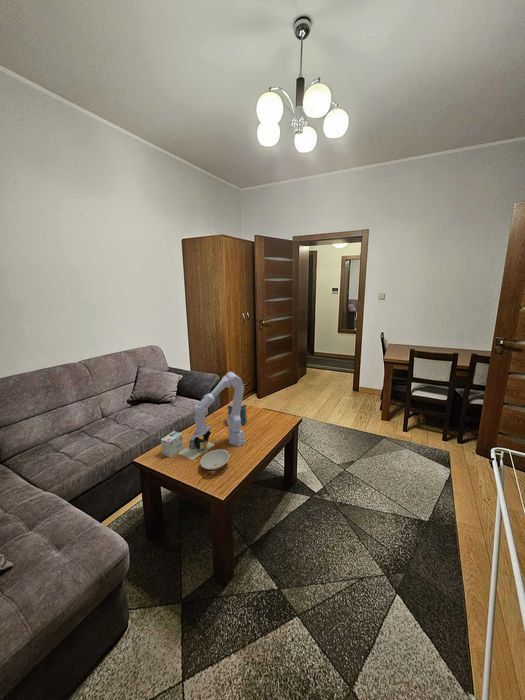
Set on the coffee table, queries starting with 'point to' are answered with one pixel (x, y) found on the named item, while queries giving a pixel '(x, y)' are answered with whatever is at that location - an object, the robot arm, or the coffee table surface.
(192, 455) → the gear board
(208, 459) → the dish
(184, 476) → the coffee table surface
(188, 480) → the coffee table surface
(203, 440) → the gear
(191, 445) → the gear
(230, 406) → the canister
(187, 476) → the coffee table surface
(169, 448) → the light bulb box
